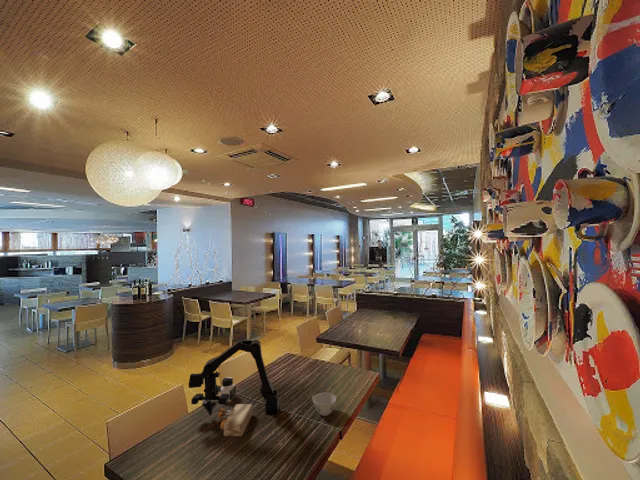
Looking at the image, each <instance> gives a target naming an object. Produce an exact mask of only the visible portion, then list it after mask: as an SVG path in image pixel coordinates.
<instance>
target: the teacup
mask: <svg viewBox="0 0 640 480" xmlns="http://www.w3.org/2000/svg"><path fill="white" fill-rule="evenodd" d="M311 399H312V400H311V401H312V402H313V406H314V409H315V410H316V412H318V414H319V415H321V416H324V417H327V416H329V415H330V414H331V413H332V412H333V411H334V409H335V406H336V402H337V397H336V395H335V394H332V393H331V392H320V393H316V394H315V395H312V397H311Z"/></svg>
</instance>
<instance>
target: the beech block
mask: <svg viewBox="0 0 640 480" xmlns="http://www.w3.org/2000/svg"><path fill="white" fill-rule="evenodd" d="M231 410H232V412H231V413H230V415H229V416H228V417H227V418H226V419H227V420H226V421H225V423H224V430H223V436H225V437H242V436H243V434H244V432H245V431H246V429H247V426H248V425H249V422H250V420H251V418H252V417H253V404H251V403H250V404H249V403H247V404H246V403H237V404H235V406H234V407H233V409H231Z"/></svg>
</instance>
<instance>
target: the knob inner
mask: <svg viewBox="0 0 640 480" xmlns="http://www.w3.org/2000/svg"><path fill="white" fill-rule="evenodd" d="M232 410H233V409H231V410H230V409H229V410H228V409H227V410H226V409H225V408H222V407H221V408H219V410H218V413H217V418H218V419H224V417H227V418H228V416H229V415H230V413H231V412H232Z"/></svg>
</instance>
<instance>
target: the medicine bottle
mask: <svg viewBox="0 0 640 480" xmlns="http://www.w3.org/2000/svg"><path fill="white" fill-rule="evenodd" d="M233 380H234V378H233V377H232V376H231V377H230V376H226V377H224V378H223V379H222V380H221V381H222V383H221V384H222V385H221V391H220V392H218V396H219V397H220V396H221V395H222V394H229V395H230V399H229V400H228V402H227V403H231V402H232V401H233V400H234V399H235V398H236V396H237V385H236V384H234V382H233Z"/></svg>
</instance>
